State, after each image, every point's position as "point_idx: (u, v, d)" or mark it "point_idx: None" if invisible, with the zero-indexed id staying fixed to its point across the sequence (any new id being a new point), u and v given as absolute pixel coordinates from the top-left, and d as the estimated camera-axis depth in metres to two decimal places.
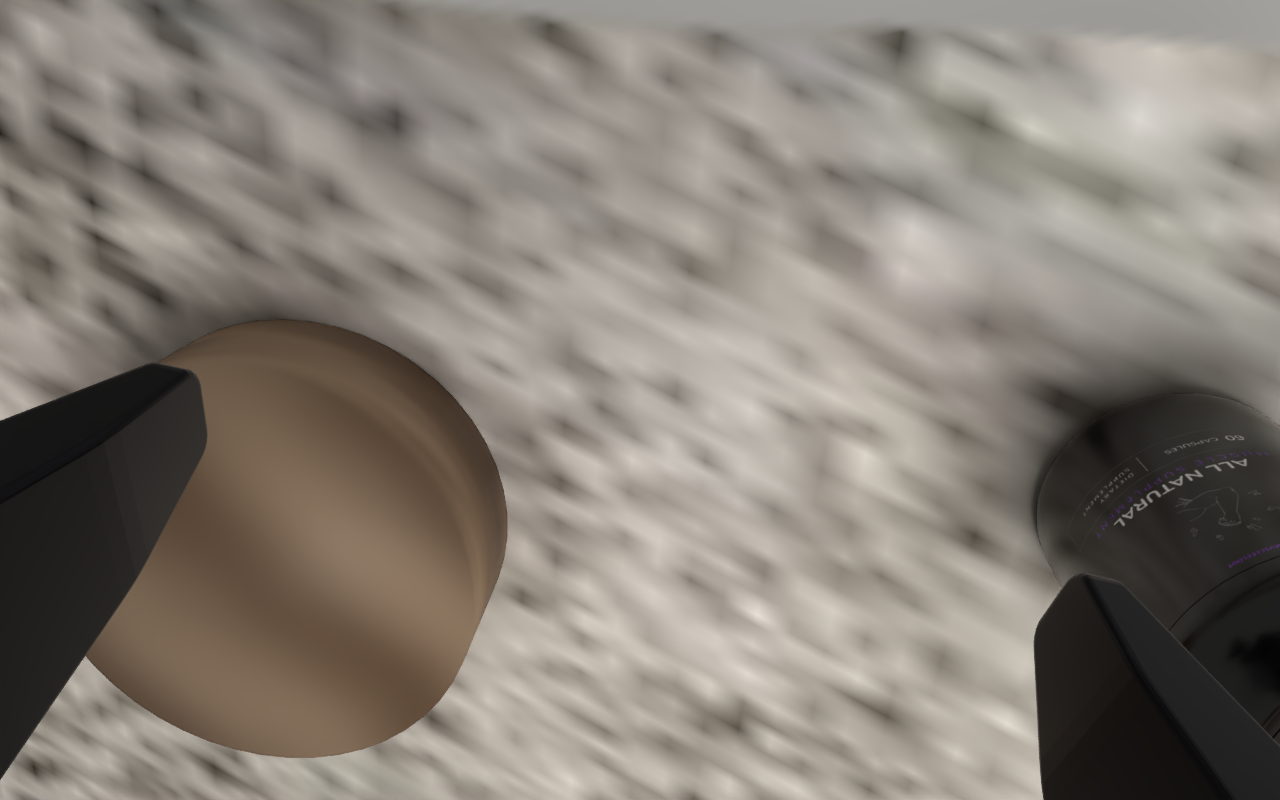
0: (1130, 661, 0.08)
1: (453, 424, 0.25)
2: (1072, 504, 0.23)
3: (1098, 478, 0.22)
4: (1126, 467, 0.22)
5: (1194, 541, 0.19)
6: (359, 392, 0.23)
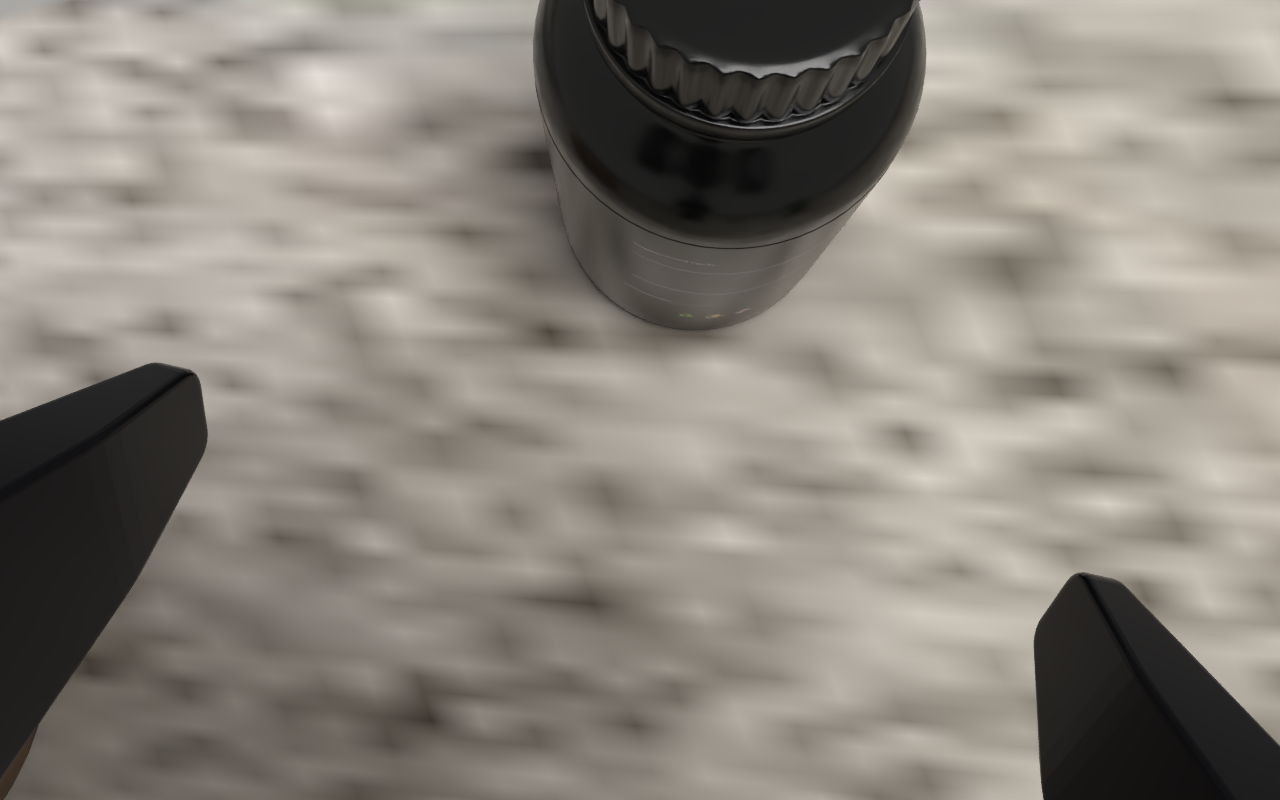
0: (1130, 661, 0.08)
1: None
2: None
3: None
4: None
5: None
6: None
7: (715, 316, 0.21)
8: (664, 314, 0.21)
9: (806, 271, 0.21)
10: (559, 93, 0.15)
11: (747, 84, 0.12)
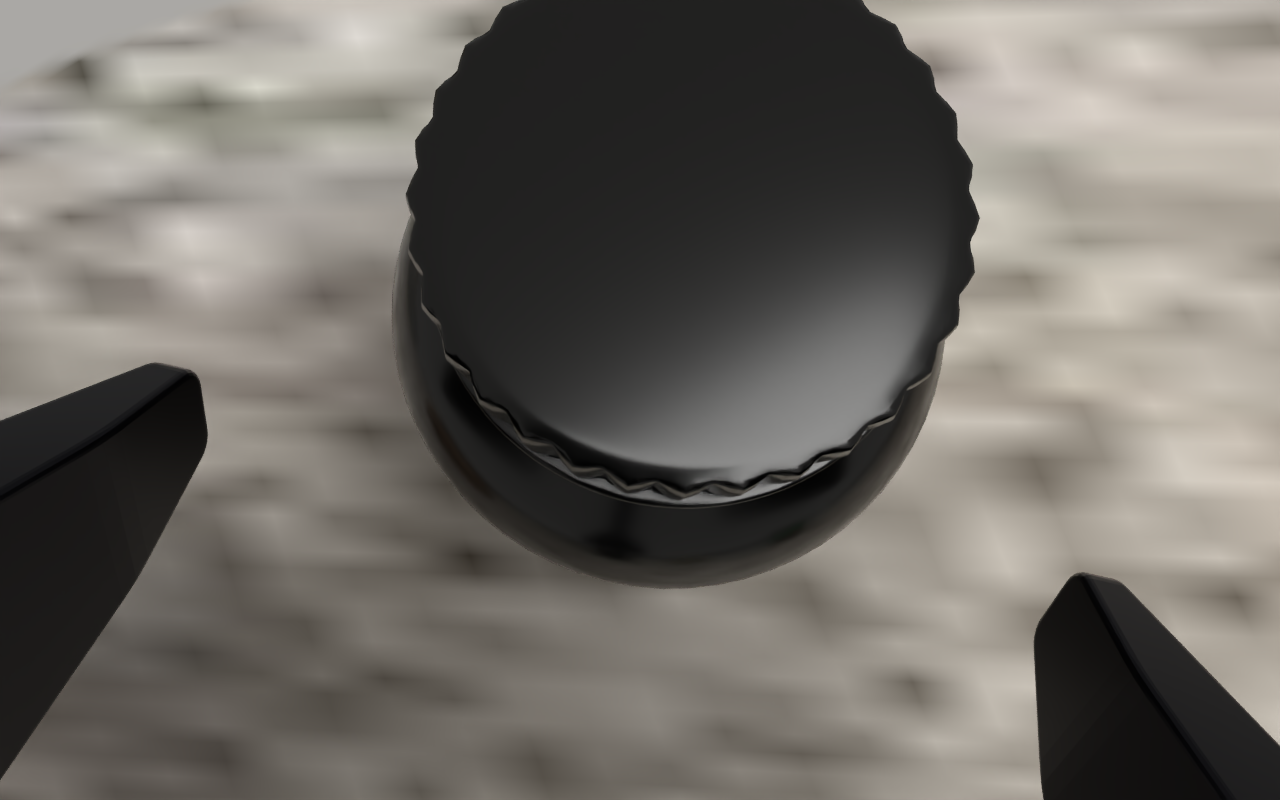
0: (1130, 661, 0.08)
1: None
2: None
3: None
4: None
5: None
6: None
7: None
8: None
9: None
10: (420, 391, 0.10)
11: (668, 491, 0.07)
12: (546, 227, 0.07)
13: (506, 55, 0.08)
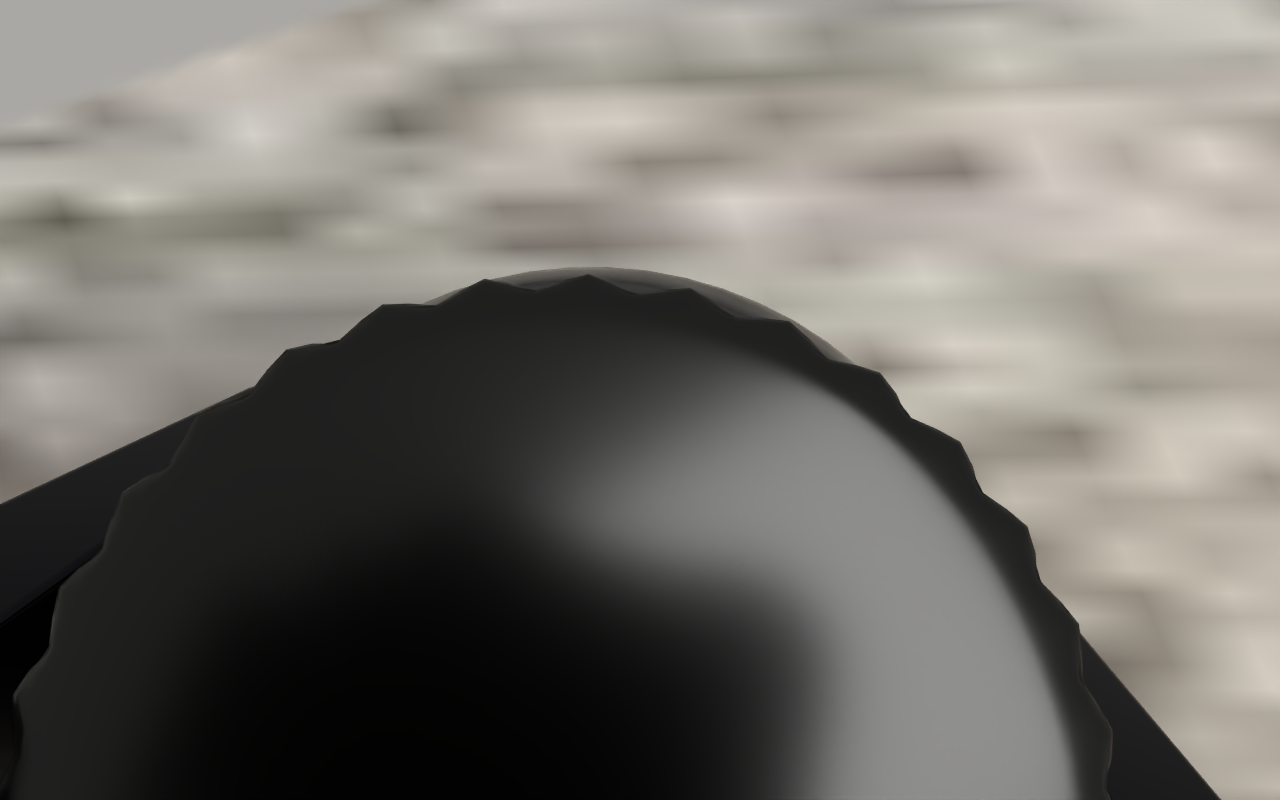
0: None
1: None
2: None
3: None
4: None
5: None
6: None
7: None
8: None
9: None
10: None
11: None
12: None
13: (196, 519, 0.04)
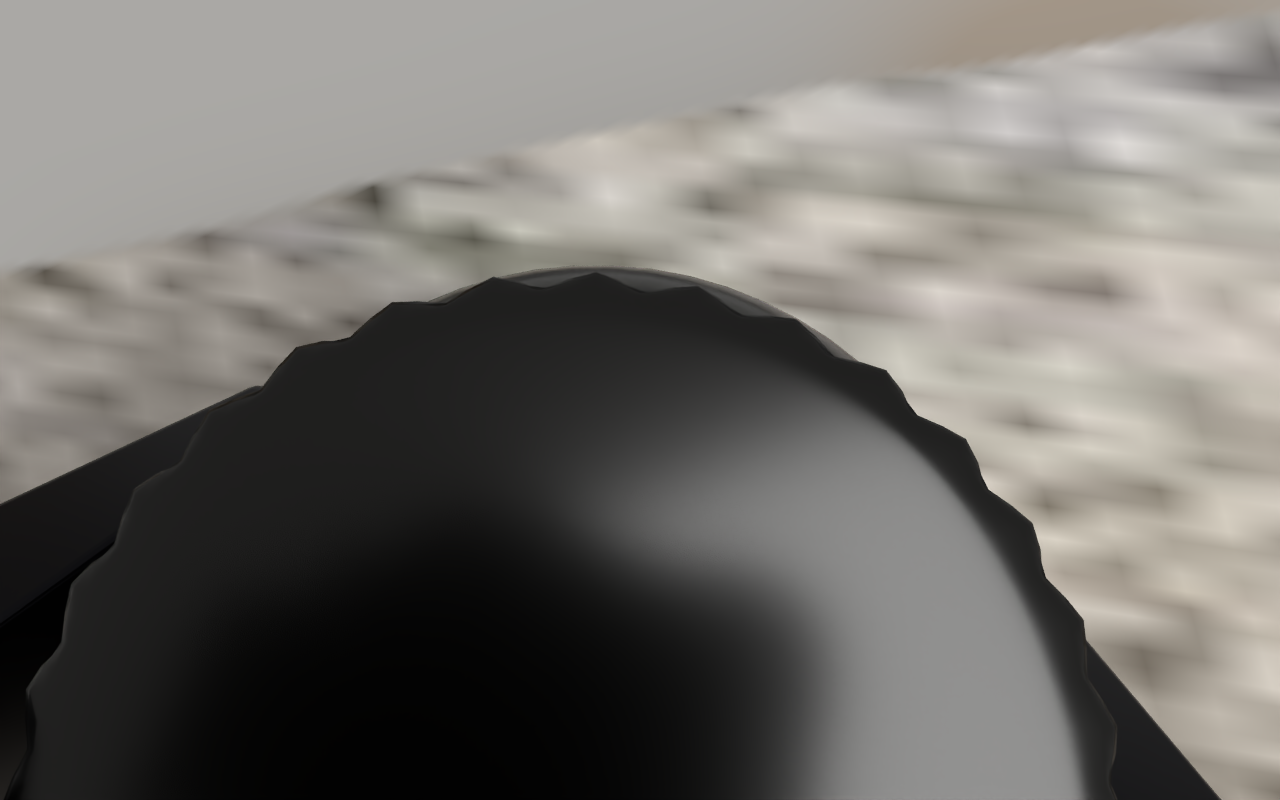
0: None
1: None
2: None
3: None
4: None
5: None
6: None
7: None
8: None
9: None
10: None
11: None
12: None
13: (208, 515, 0.04)
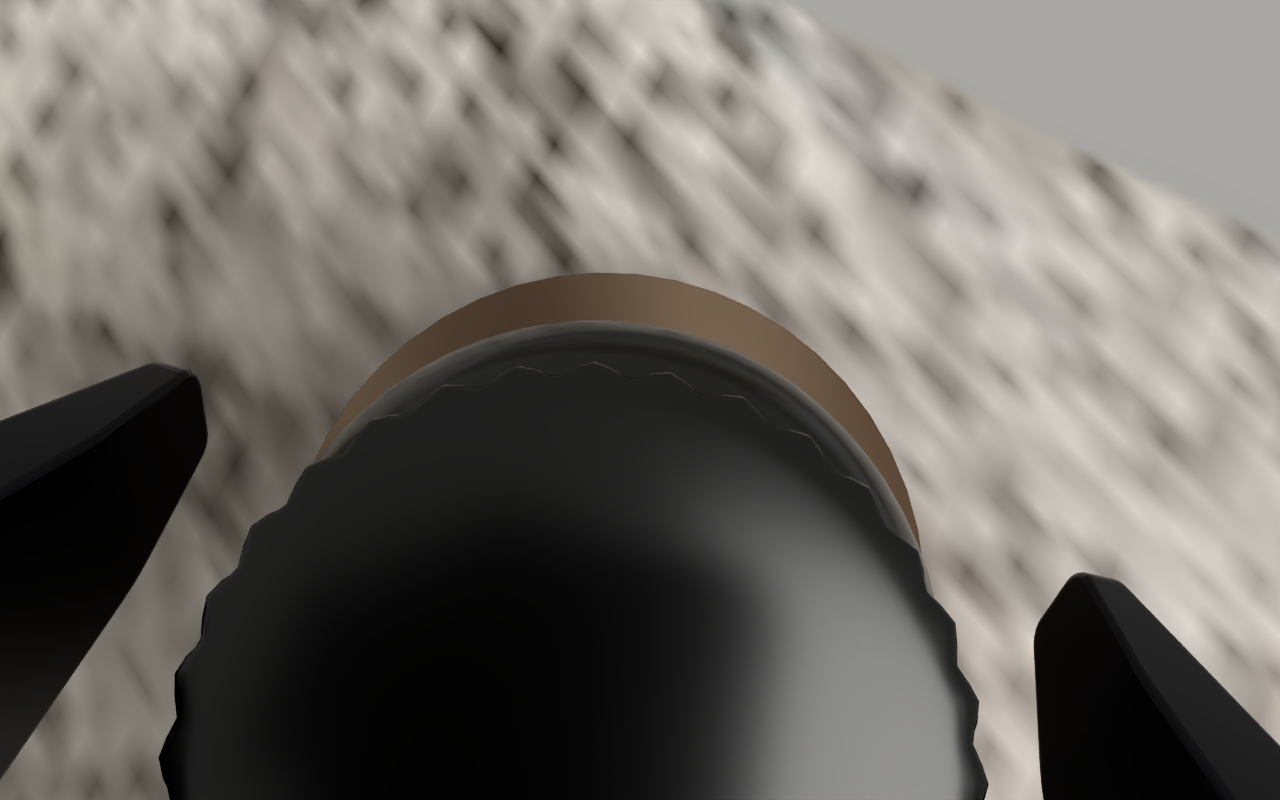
0: (1130, 661, 0.08)
1: None
2: None
3: None
4: None
5: None
6: None
7: None
8: None
9: None
10: None
11: None
12: None
13: (307, 545, 0.05)
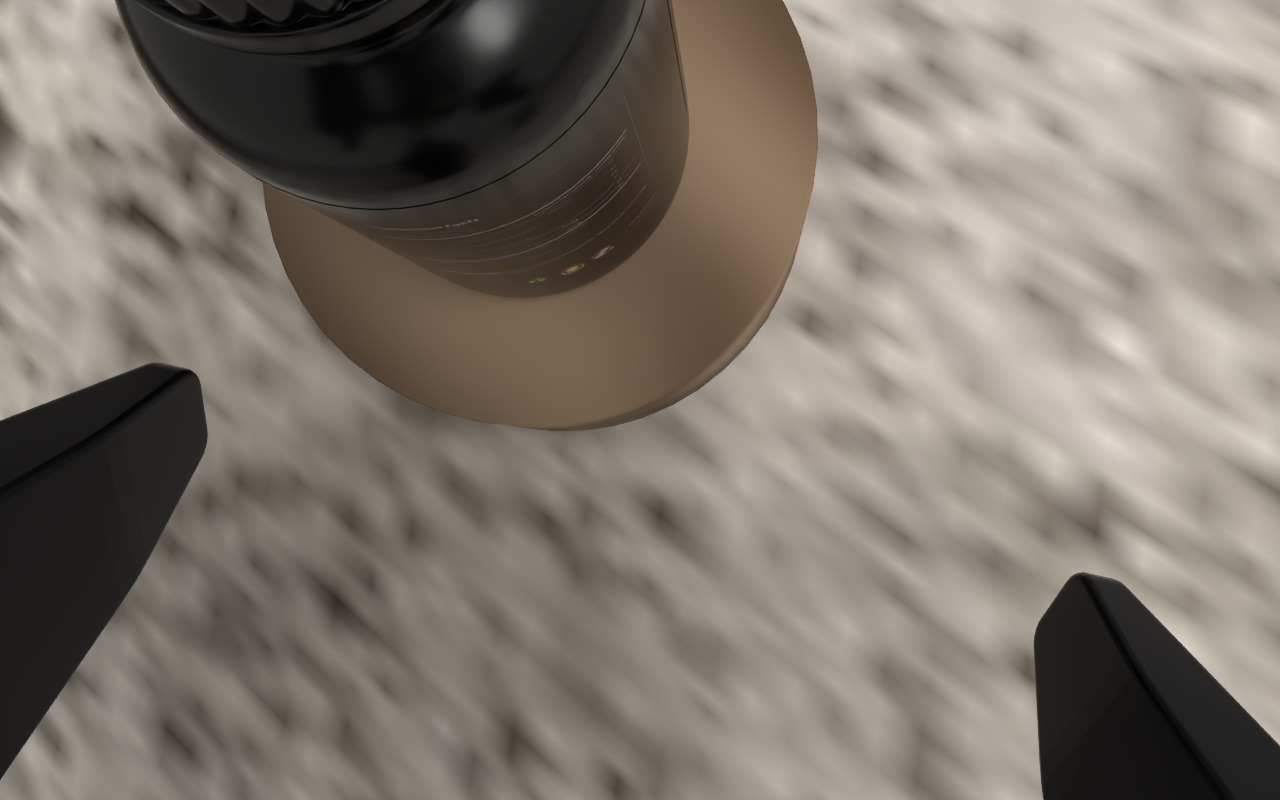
0: (1130, 661, 0.08)
1: None
2: None
3: None
4: None
5: None
6: None
7: (573, 269, 0.17)
8: (515, 287, 0.17)
9: (663, 177, 0.16)
10: (152, 67, 0.11)
11: None
12: None
13: None
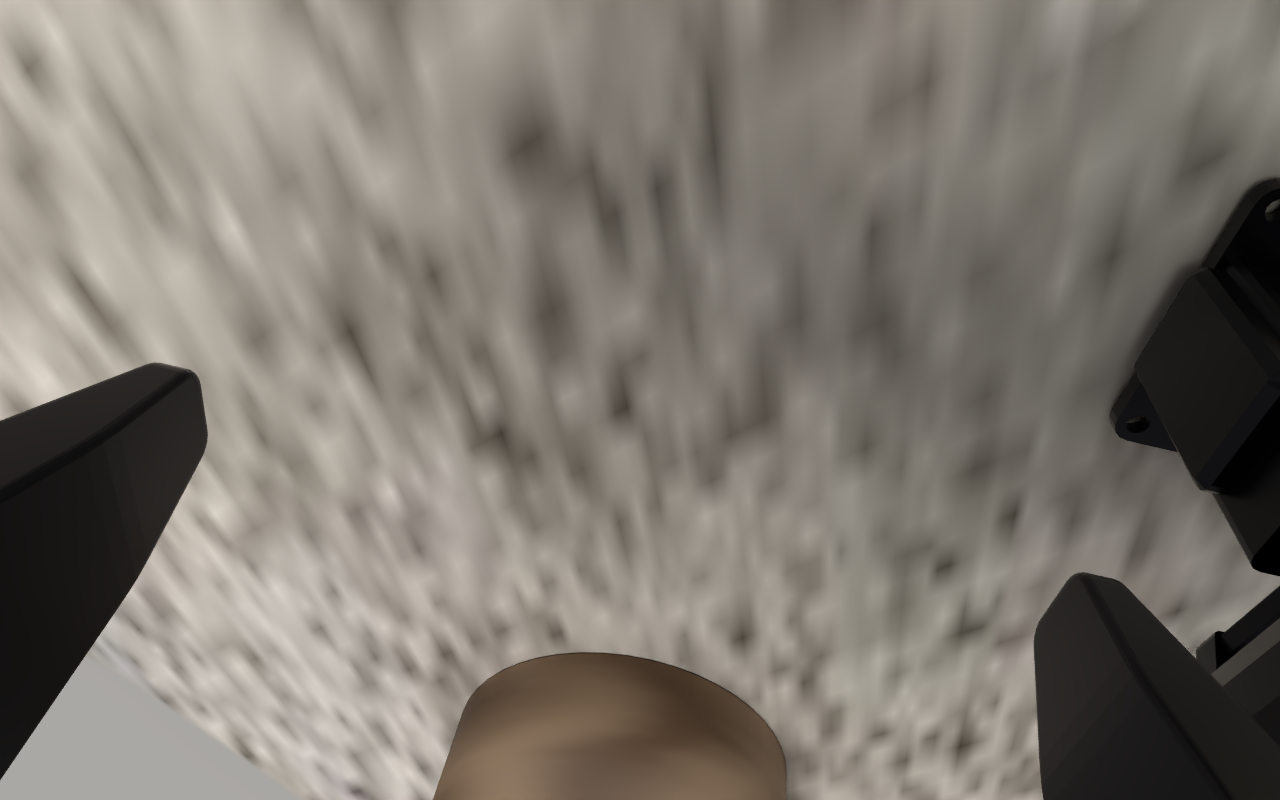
0: (1130, 661, 0.08)
1: None
2: None
3: None
4: None
5: None
6: None
7: None
8: None
9: None
10: None
11: None
12: None
13: None
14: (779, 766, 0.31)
